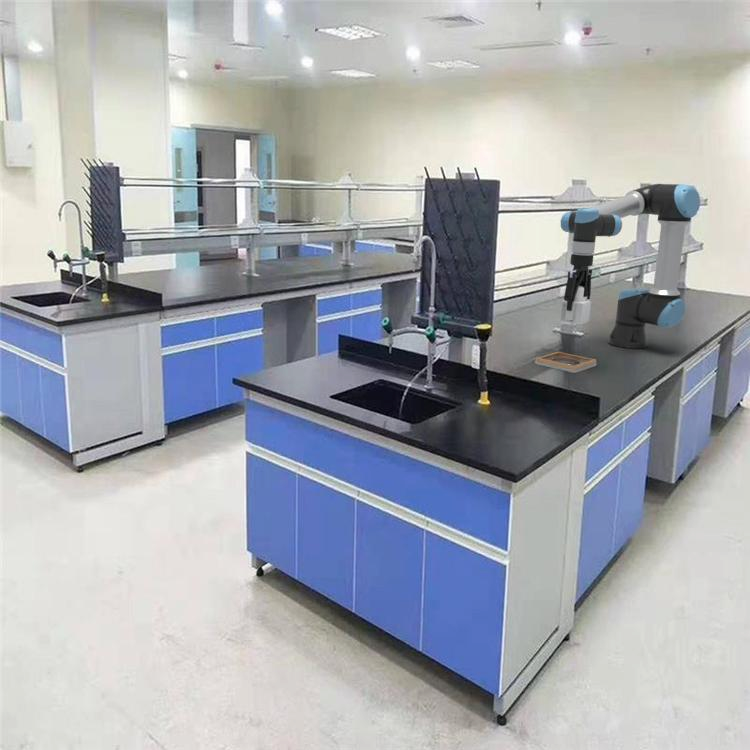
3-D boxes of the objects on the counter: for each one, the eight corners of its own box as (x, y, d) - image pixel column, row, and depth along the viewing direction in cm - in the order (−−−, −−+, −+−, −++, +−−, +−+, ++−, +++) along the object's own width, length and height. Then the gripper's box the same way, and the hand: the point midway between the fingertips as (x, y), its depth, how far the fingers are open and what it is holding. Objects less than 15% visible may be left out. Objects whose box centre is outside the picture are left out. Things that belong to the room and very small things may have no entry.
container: (568, 318, 255) (572, 283, 252) (589, 322, 251) (593, 285, 247) (559, 321, 249) (563, 285, 246) (580, 325, 245) (585, 287, 241)
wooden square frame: (557, 357, 266) (557, 351, 265) (596, 365, 255) (597, 359, 255) (534, 363, 255) (535, 357, 254) (574, 373, 244) (575, 366, 244)
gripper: (586, 251, 253) (578, 313, 260) (558, 254, 239) (550, 320, 245) (605, 253, 249) (597, 316, 255) (578, 256, 234) (570, 323, 240)
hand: (574, 318), depth 250 cm, fingers closed on container, 8 cm apart
